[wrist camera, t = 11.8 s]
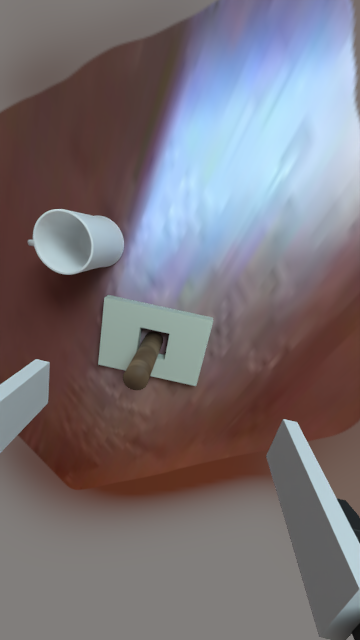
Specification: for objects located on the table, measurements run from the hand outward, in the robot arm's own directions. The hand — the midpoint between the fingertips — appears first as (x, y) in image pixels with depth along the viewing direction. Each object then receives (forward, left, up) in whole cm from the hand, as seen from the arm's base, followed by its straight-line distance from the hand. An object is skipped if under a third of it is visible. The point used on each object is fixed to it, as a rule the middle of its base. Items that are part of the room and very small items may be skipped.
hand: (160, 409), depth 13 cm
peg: (-5, -11, -32) cm, 34 cm away
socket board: (-5, -11, -32) cm, 34 cm away
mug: (-19, +5, -32) cm, 37 cm away
